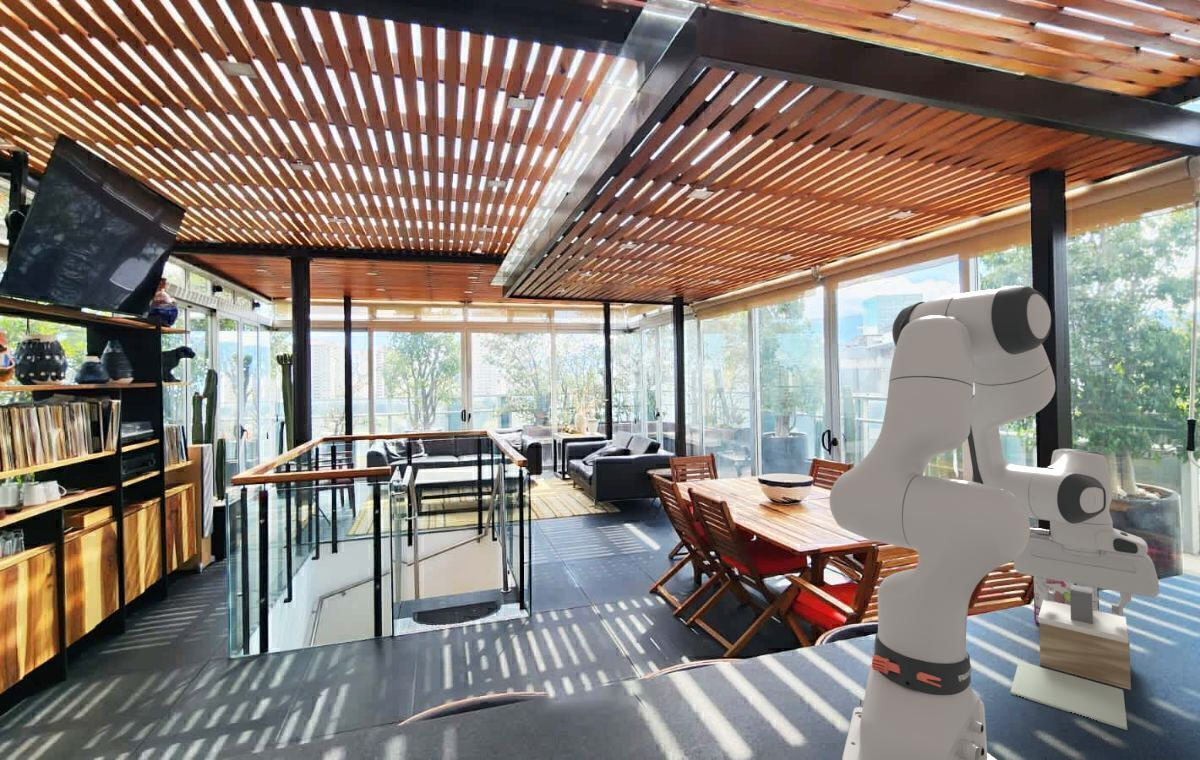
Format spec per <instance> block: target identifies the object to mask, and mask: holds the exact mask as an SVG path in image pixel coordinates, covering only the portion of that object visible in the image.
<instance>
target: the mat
mask: <svg viewBox="0 0 1200 760" xmlns="http://www.w3.org/2000/svg"><path fill="white" fill-rule="evenodd" d="M1010 695H1014V696H1016V695H1017V697H1019V696H1021V697H1020V698H1022V697H1024V698H1023V699H1026V698H1027V699H1026V700H1029V701H1033V702H1036V703H1039V704H1042V705H1045V706H1048V707H1052V708H1054V709H1058V710H1061V711H1065V712H1068V713H1070V712H1072V713H1071V714H1074V713H1076V714H1075V715H1077V714H1079V715H1078V716H1080V715H1082V716H1081V717H1083V716H1085V717H1084V718H1086V717H1089V718H1088V719H1090V718H1091V719H1090V720H1093V719H1094V720H1093V721H1096V720H1097V722H1099V723H1103V724H1106V725H1109V726H1113V727H1115V728H1119V729H1122V730H1125V731H1128V724H1127V723H1128V722H1127V721H1128V720H1127V713H1126V712H1127V711H1126V706H1125V705H1126V704H1125V694H1124V689H1123V688H1122V689H1121V688H1117V687H1116V686H1114V687H1113V686H1112V685H1108V684H1105V683H1104V684H1103V683H1099V682H1098V681H1097V682H1095V681H1094V680H1093V681H1092V680H1089V679H1087V678H1086V679H1085V678H1083V677H1082V678H1081V677H1078V676H1076V675H1075V676H1074V675H1072V674H1071V675H1070V674H1069V673H1065V672H1064V673H1063V672H1060V671H1058V670H1057V671H1056V670H1054V669H1050V668H1047V667H1045V668H1044V667H1043V666H1042V667H1041V666H1039V665H1035V664H1031V663H1028V662H1023V661H1020V660H1018V663H1017V667H1016V671H1015V674H1014V677H1013V681H1012V684H1011V689H1010Z"/></svg>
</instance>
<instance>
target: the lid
mask: <svg viewBox="0 0 1200 760" xmlns="http://www.w3.org/2000/svg"><path fill="white" fill-rule="evenodd" d="M1039 623H1043V624H1047V625H1051V626H1055V627H1060V628H1064V629H1068V630H1072V631H1077V632H1081V633H1085V634H1089V635H1094V636H1098V637H1102V638H1106V639H1111V640H1115V641H1119V642H1123V643H1128V637H1129V631H1128V632H1127V630H1128V625H1127V617H1126V616H1124V615H1123V617H1121V616H1117V615H1112V613H1110V612H1109V613H1108V612H1105V611H1100V610H1099V611H1096V610H1093V589H1092V588H1088V587H1083V586H1077V585H1072V584H1071V591H1070V605H1067V604H1062V603H1058V602H1049V601H1045V600H1043V602H1042V606H1041V609H1040V613H1039V616H1038V623H1037V624H1039Z"/></svg>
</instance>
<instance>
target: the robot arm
mask: <svg viewBox="0 0 1200 760" xmlns="http://www.w3.org/2000/svg"><path fill="white" fill-rule="evenodd" d="M1051 327H1052V316H1051V310H1050V307H1049V303H1048V301H1047V299H1046V297H1045V296H1044V295H1043V293H1041V292H1039V291H1038V290H1036V289H1034V288H1032V287H1031V286H1028V285H1008V286H1002V287H1000V288H996V289H985V290H977V291H969V292H965V293H964V292H960V293H959V292H958V293H953V294H950V295H949V294H948V295H945V296H941V297H938V298H935V299H930V300H928V301H919V302H917V303H916V302H915V303H914V304H911V305H909V306H907V307H905V308H902V309H901V311H900V312H899V313H898V314H897V315H896V317H895V319H894V321H893V324H892V330H891V334H892V340H893V343H894V345H895V350H894V351H893V352H894V353H893V357H892V361H891V368H890V372H889V380H888V389H887V397H886V398H887V399H886V404H885V412H884V418H883V423H882V427H881V430H880V433H879V435H878V438H877V439H876V442H874V445H873V446H872V447H871V450H870V451H869V452H868V453H867V455H866V456H865V457H864V458H863V459H862V460H861V461H860V462H858V463H857V464H856V465H855V466H853V467H852V468H850V469H849V470H847V471H845V472H844V473H842V474H841V475H839V477H837V479H836V480H835V481H834V483H833V484H832V488H831V490H830V492H829V508H830V512H831V515H832V517H833V520H834V521H835V523H836V524H837V525H838V526H839V527H840V528H841V529H843V530H845V531H848V532H850V533H852V534H854V535H857V536H859V537H862V538H864V539H867V540H868V541H873V542H876V543H877V542H878V543H883V544H887V545H891V546H896V547H901V548H905V549H911V550H913V551H916V552H917V555H918V557H917V561H918V562H917V566H916V568H909V569H905V570H901V571H898V572H894V573H892V574H889V575H888V576H887V577H885V578H884V579H883V580H882V581H881V582H880V585H879V587H878V588H877V632H876V633H875V638H874V643H873V651H872V652H873V656H872V659H871V663H870V664H868V665H867V668H868V669H867V670H868V672H867V673H868V676H867V682H866V685H865V686H866V687H865V692H864V698H863V697H861V699H860V700H859V705H860V706H857V707H854V709H853V711H852V713H851V719H850V722H849V728H848V731H847V736H846V740H845V745H844V749H843V752H842V753H843V754H842V757H841V760H998V759H997V758H995V757H994V756H992V755H991V754H990V753H989V752H988V746H987V745H988V744H987V743H988V742H987V741H988V740H987V727H986V726H987V725H986V714H985V711H986V710H985V703H984V702H983V701H982V700H981V698H980V697H978V695H977V694H976V693H975V691H974V690H973V689H972V686H971V683H972V678H971V677H972V675H971V674H972V664H971V658H970V654H969V653H968V651H967V628H968V627H967V625H968V624H967V623H968V621H967V620H968V612H969V605H970V600H971V598H972V594H973V592H974V591H975V589H976V587H977V585H978V584H979V583H980V581H982V580H983V578H984V577H986V576H987V575H988V574H990V573H991V572H992V571H994V570H996V569H998V568H1000V567H1002V566H1004V565H1007V564H1009V563H1011V562H1013V568H1014V570H1015V571H1016V572H1017V573H1018V574H1021V575H1027V576H1031V577H1032V576H1037V583H1038V584H1039V586H1040V587H1041V589H1042V590H1043V592H1044V599H1045V601H1049V602H1054V601H1055V597H1054V596H1055V591H1050V590H1049V589H1048V588H1047V586H1046V585H1045V583H1046V581H1047V578H1048V579H1053V580H1058V581H1064V582H1069V583H1075V584H1080V585H1085V586H1091V587H1096V588H1098V589H1103V590H1107V591H1113V592H1117V593H1119V594H1120V596H1119V597H1120V598H1121V599H1120V600H1119V601H1118V603H1114V602H1111V614H1112V615H1117V616H1121V617H1123V616H1124V608H1125V607H1126V606H1127V605H1128V604H1130V602H1131V601H1132V595H1134V596H1140V597H1141V596H1142V597H1146V598H1150V599H1151V598H1152V599H1153V598H1156V597H1158V596H1159V595H1160V584H1159V577H1158V574H1157V570H1156V567H1155V566H1156V565H1155V563H1154V562H1153V559H1152V558H1151V556H1150V555H1148V551H1149V546H1148V544H1147V542H1146V541H1145V539H1143V538H1142V537H1140V536H1137V535H1135V534H1131V533H1128V532H1126V531H1123V530H1120V529H1117V528H1114V527H1113V526H1114V525H1113V522H1114V521H1113V518H1112V516H1111V513H1110V508H1111V507H1110V506H1111V503H1112V500H1113V490H1112V480H1111V474H1110V473H1111V472H1110V468H1109V464H1108V461H1107V459H1106V456H1105V455H1103V454H1101V453H1098V452H1096V451H1090V450H1083V449H1076V448H1075V449H1073V448H1059V449H1055V450H1053V451H1052V454H1051V461H1050V465H1048V466H1046V467H1036V466H1027V465H1019V464H1014V463H1011V462H1009V461H1007V460H1006V459H1005V458H1004V456H1003V455H1004V454H1003V448H1002V442H1001V441H1002V440H1001V435H1000V434H1001V433H1000V427H1002V426H1004V425H1007V424H1010V423H1014V422H1015V423H1016V422H1019V421H1023V420H1025V419H1027V418H1028V417H1031V416H1033V415H1035V414H1037V413H1038V412H1040V411H1041V410H1043V409H1044V408H1045V407H1046V406H1047V405H1048V404H1049V403H1050V402H1051V401H1052V398H1053V397H1054V395H1055V392H1056V379H1055V375H1054V372H1053V368H1052V365H1051V363H1050V360H1049V357H1048V355H1047V351H1046V349H1045V348H1044V345H1043V343H1044V342H1045V341H1046V339H1048V337H1049V335H1050V334H1051V329H1052V328H1051ZM966 441H967V442H968V448H969V449H968V450H969V455H970V461H971V466H972V467H971V468H972V476H971V477H972V479H971V480H968V479H967V480H966V479H957V478H956V479H955V478H949V477H939V476H929V475H923V474H924V471H925V468H926V466H928V464H929V463H930V462H931V461H932V460H933V459H934V458H935V457H938V456H940V455H943V454H946V453H948V452H951V451H953V450H954V451H955V450H956V449H957V448H959V447H961V446H962V445H963V444H964V443H965V442H966ZM1031 518H1032V519H1036V520H1042V521H1049V529H1044V528H1033V527H1031V523H1030V519H1031Z"/></svg>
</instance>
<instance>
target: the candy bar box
mask: <svg viewBox="0 0 1200 760" xmlns="http://www.w3.org/2000/svg"><path fill="white" fill-rule="evenodd" d="M1032 581H1033V605H1034V606H1033V607H1034V609H1033V610H1034V611H1033V612H1034V613H1033V614H1034V618H1033V619H1034V622H1036V623H1037V624H1039V623H1038V616H1039V613H1040V609H1041V606H1042V602H1043V600H1045V599H1044V592H1043V590H1042V589H1041V587H1040V586H1039V584H1038V583H1037V576H1033V579H1032ZM1071 584H1072V585H1077V586H1083V587H1088V588H1092V589H1093V610H1096V611H1100V596H1099V594H1100V593H1099V588H1096V587H1091V586H1085V585H1080V584H1075V583H1069V582H1064V581H1058V580H1053V579H1048V578H1047V581H1046V583H1045V585H1046V586H1047V588H1048V589H1049V590H1050V591H1055V596H1054V597H1055V601H1054V602H1058V603H1062V604H1067V605H1070V591H1071Z"/></svg>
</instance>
